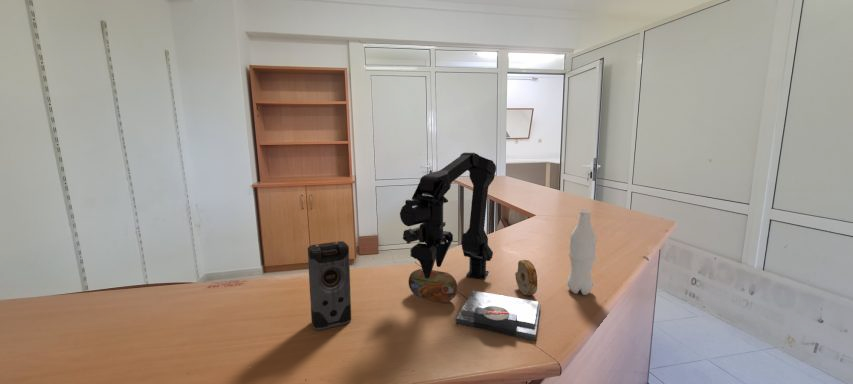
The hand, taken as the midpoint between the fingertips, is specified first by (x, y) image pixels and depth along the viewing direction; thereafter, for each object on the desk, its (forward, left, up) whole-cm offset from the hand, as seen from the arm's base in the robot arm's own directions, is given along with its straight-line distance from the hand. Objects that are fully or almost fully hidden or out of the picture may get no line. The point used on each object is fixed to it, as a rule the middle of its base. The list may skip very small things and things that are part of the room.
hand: (433, 272), depth 96 cm
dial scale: (+3, +20, -8) cm, 22 cm away
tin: (0, 0, -8) cm, 8 cm away
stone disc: (-14, +25, -8) cm, 30 cm away
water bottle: (-21, +40, -8) cm, 46 cm away
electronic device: (+22, -19, -8) cm, 30 cm away
